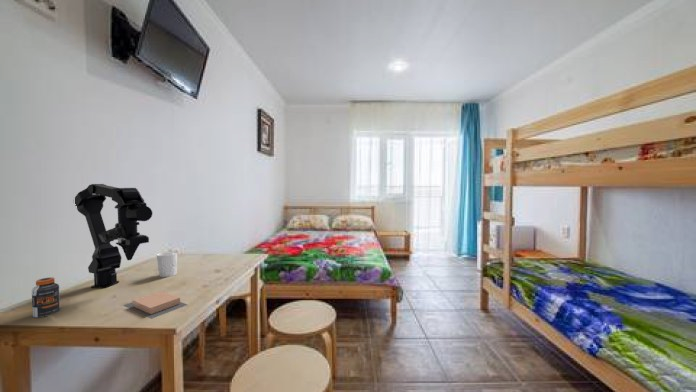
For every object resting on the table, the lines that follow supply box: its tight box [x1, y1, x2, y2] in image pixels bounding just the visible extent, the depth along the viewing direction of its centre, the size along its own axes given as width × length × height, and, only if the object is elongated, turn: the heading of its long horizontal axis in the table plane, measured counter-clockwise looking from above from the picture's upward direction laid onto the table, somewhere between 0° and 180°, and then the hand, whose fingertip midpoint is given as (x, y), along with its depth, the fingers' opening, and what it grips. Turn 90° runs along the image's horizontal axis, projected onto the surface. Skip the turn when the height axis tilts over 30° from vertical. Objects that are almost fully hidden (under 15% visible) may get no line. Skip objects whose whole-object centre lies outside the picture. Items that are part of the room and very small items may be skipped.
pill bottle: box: [31, 277, 61, 318], centre depth 88 cm, size 6×6×11 cm
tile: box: [131, 290, 181, 314], centre depth 93 cm, size 2×9×12 cm
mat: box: [123, 301, 188, 319], centre depth 93 cm, size 19×11×1 cm, turn 60°
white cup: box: [156, 250, 178, 278], centre depth 125 cm, size 8×8×10 cm
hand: (129, 260), depth 107 cm, fingers closed
